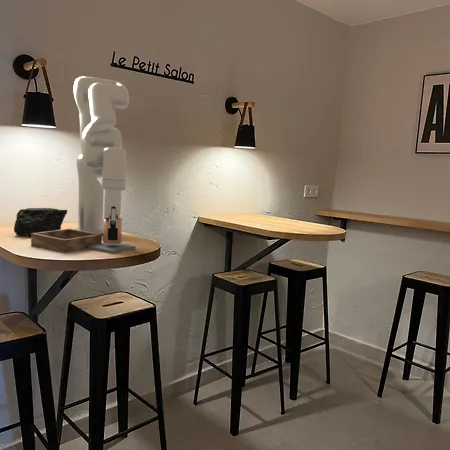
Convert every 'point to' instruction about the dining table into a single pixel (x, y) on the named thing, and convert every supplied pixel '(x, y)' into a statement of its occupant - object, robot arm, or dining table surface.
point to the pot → (105, 231)
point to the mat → (111, 247)
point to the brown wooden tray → (65, 240)
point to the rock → (38, 220)
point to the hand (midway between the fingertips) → (112, 237)
